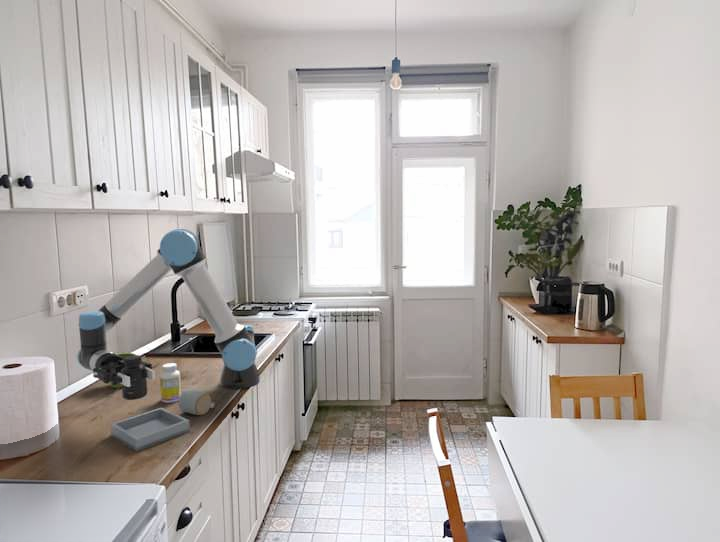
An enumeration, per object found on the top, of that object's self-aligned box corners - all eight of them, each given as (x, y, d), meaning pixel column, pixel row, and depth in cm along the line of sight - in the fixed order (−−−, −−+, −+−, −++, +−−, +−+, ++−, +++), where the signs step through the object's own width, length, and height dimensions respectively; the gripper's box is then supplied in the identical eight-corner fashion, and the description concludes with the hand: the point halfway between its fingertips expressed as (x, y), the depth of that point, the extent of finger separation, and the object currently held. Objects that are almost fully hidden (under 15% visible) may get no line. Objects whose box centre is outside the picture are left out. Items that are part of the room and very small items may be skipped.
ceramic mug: (196, 419, 150) (195, 396, 150) (178, 414, 154) (177, 392, 153) (220, 408, 160) (219, 386, 159) (202, 404, 163) (202, 382, 163)
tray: (162, 417, 152) (161, 407, 151) (189, 431, 142) (189, 420, 141) (110, 435, 139) (110, 424, 139) (137, 451, 129) (136, 439, 129)
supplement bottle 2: (166, 396, 170) (164, 362, 169) (184, 396, 170) (182, 362, 169) (157, 403, 164) (155, 367, 162) (176, 403, 163) (174, 368, 162)
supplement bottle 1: (127, 392, 143) (125, 354, 142) (150, 391, 144) (148, 353, 143) (118, 400, 137) (115, 360, 135) (142, 400, 137) (140, 360, 136)
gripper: (138, 367, 159) (173, 382, 144) (74, 383, 144) (107, 401, 129) (136, 346, 158) (172, 358, 143) (72, 359, 143) (105, 374, 128)
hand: (141, 378), depth 136 cm, fingers closed on supplement bottle 1, 7 cm apart
